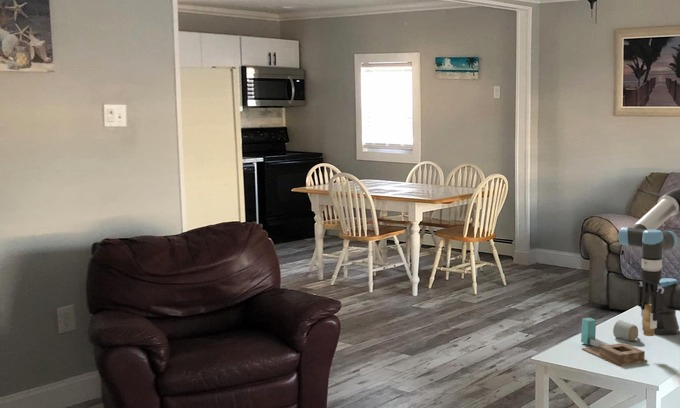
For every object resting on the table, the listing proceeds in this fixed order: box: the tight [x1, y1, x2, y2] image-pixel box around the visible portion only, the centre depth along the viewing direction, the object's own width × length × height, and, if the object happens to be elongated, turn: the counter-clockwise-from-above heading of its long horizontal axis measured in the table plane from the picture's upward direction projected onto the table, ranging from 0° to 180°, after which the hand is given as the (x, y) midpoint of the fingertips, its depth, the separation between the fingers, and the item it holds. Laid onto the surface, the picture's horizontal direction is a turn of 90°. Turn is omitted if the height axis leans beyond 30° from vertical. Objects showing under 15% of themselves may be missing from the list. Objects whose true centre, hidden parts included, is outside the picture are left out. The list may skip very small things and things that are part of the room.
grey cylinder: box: [612, 320, 639, 342], centre depth 347 cm, size 11×8×8 cm
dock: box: [581, 342, 648, 367], centre depth 325 cm, size 14×22×4 cm, turn 22°
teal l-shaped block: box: [580, 317, 616, 350], centre depth 333 cm, size 4×18×10 cm, turn 22°
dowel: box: [643, 304, 655, 337], centre depth 322 cm, size 4×4×12 cm
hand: (649, 326), depth 322 cm, fingers closed on dowel, 4 cm apart
